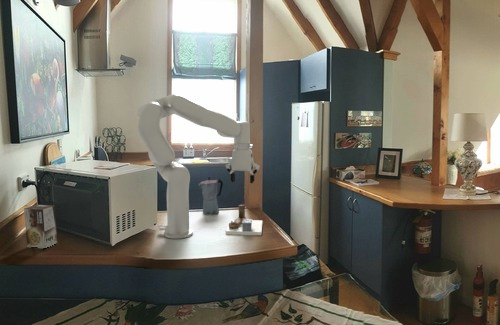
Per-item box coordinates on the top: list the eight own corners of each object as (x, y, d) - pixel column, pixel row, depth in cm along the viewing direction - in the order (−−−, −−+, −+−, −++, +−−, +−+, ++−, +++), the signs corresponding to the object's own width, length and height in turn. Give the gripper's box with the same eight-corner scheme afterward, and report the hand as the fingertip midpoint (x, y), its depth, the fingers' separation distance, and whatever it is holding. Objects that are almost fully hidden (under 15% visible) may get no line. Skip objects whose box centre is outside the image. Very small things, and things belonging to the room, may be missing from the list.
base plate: (225, 234, 154) (225, 231, 154) (230, 222, 172) (230, 219, 172) (261, 235, 153) (261, 232, 153) (262, 223, 171) (262, 220, 171)
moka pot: (194, 213, 189) (194, 177, 186) (217, 208, 199) (216, 174, 197) (204, 216, 182) (204, 179, 179) (227, 211, 192) (227, 176, 190)
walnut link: (236, 228, 156) (236, 212, 155) (227, 227, 157) (227, 211, 156) (246, 219, 170) (247, 205, 169) (238, 219, 171) (238, 204, 170)
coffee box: (58, 243, 141) (55, 205, 139) (45, 249, 135) (43, 209, 133) (39, 241, 143) (36, 204, 141) (26, 247, 136) (23, 207, 134)
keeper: (229, 230, 154) (229, 222, 154) (231, 226, 161) (231, 218, 160) (251, 231, 154) (251, 223, 153) (252, 226, 160) (252, 219, 160)
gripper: (261, 146, 165) (261, 181, 167) (228, 146, 170) (228, 180, 172) (256, 148, 158) (257, 184, 160) (222, 147, 163) (223, 182, 165)
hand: (242, 182), depth 166 cm, fingers open, 9 cm apart
